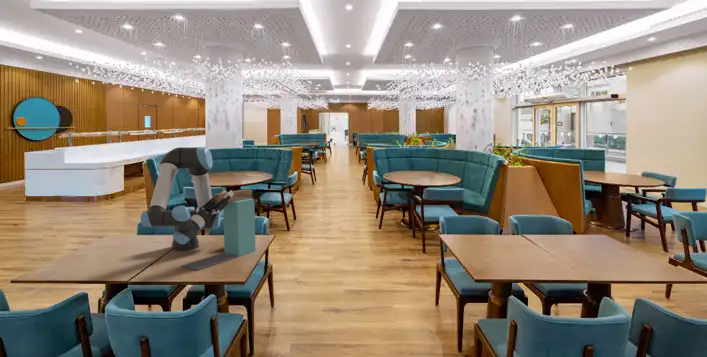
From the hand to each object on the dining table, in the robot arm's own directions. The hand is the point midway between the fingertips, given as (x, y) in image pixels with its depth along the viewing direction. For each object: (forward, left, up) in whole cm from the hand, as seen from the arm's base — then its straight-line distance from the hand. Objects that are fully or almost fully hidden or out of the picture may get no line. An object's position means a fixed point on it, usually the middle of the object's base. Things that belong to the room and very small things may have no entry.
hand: (229, 192), depth 240 cm
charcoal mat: (0, -15, -35) cm, 38 cm away
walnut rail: (0, +3, -5) cm, 6 cm away
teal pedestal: (0, +7, -35) cm, 36 cm away
